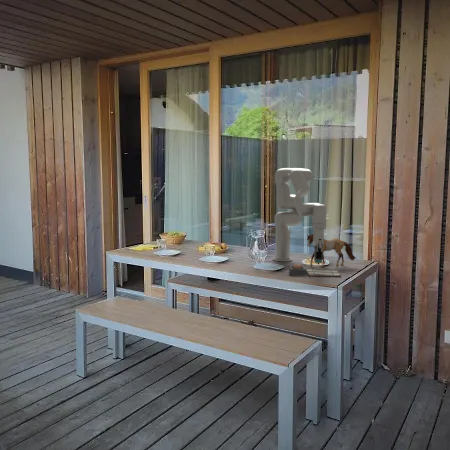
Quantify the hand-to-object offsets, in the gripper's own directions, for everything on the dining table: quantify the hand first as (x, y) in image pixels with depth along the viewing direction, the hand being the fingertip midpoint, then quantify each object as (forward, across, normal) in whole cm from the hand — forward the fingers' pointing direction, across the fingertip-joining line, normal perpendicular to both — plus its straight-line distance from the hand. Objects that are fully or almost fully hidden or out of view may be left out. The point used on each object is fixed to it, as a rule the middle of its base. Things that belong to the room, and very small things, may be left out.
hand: (318, 257), depth 267 cm
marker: (+3, 0, 0) cm, 3 cm away
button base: (+10, 0, -12) cm, 15 cm away
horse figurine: (+10, -17, +10) cm, 22 cm away
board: (+10, 0, +3) cm, 10 cm away
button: (+7, 0, -12) cm, 14 cm away
